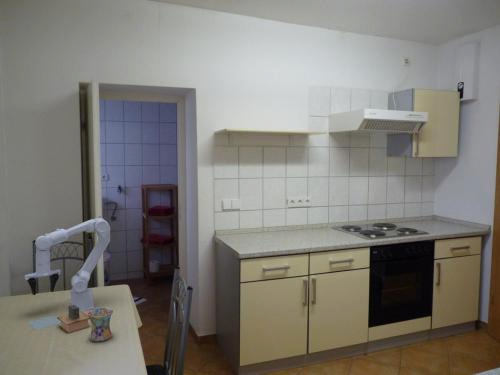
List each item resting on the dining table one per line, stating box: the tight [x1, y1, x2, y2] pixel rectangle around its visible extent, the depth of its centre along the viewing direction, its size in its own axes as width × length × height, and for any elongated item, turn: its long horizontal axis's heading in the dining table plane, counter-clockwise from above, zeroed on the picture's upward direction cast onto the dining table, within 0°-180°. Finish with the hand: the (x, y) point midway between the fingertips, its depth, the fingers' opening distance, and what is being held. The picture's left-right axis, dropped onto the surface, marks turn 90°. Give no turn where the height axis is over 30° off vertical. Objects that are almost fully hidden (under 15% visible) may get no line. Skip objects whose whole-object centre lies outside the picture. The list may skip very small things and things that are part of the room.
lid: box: [56, 304, 90, 326], centre depth 167 cm, size 10×10×5 cm
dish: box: [60, 319, 89, 334], centre depth 167 cm, size 8×8×4 cm
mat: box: [27, 315, 61, 331], centre depth 171 cm, size 11×11×1 cm
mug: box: [87, 307, 114, 342], centre depth 159 cm, size 12×9×11 cm
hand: (43, 292), depth 179 cm, fingers open, 7 cm apart
